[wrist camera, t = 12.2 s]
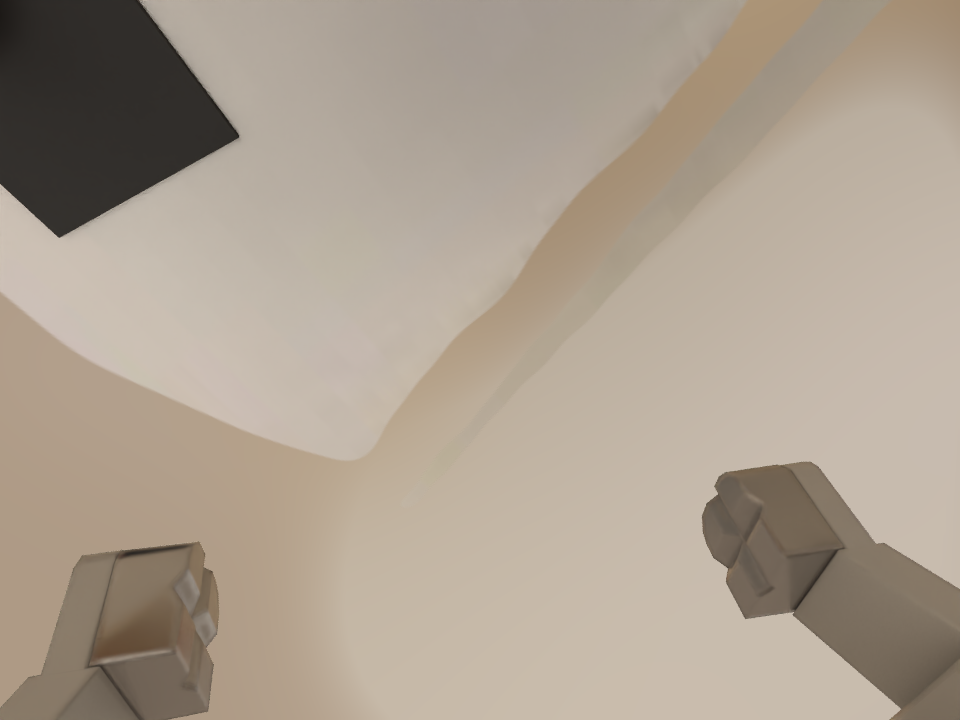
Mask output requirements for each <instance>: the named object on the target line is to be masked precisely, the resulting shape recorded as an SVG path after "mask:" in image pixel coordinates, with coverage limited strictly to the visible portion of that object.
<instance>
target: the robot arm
mask: <svg viewBox="0 0 960 720" xmlns="http://www.w3.org/2000/svg"><path fill="white" fill-rule="evenodd" d="M714 487H715V488H716V490H717V492H718V495H717V496H715V497H714V498H713V499H712V500H710V501H709V502H708V503H707V504H706V507H705V510H704V512H703V515H702V524H703V534H704V537H705V540H706V544H707V546H708V548H709V550H710V552H711V554H712V556H713V558H714V559H716V560H717V561H719V562H720V563H721V564H723V565H724V566H726V567H727V568H728V572H727V578H726V583H727V585H728V587H729V589H730V591H731V593H732V595H733V597H734V598H735V600H736V602H737V604H738V606H739V608H740V610H741V612H742V614H743V615H744V617H745V619H748V618H755V617H762V616H769V615H776V614H783V613H789V612H794V613H793V616H794V617H796V618H797V619H798V620H799V621H800V622H801V623H803V624H804V625H805V626H806V627H807V628H808V629H810V630H811V631H812V632H813V633H814V634H815V635H816V636H818V637H819V638H820V639H821V640H822V641H823V642H825V643H826V644H827V645H828V646H829V647H830V648H831V649H833V650H834V651H835V652H836V653H837V654H839V655H840V656H841V657H842V658H843V659H844V660H845V661H847V662H848V663H849V664H850V665H851V666H852V667H854V668H855V669H856V670H857V671H858V672H859V673H860V674H862V675H863V676H864V677H865V678H866V679H867V680H869V681H870V682H871V683H872V684H873V685H874V686H876V687H877V688H878V689H879V690H880V691H882V693H884V694H885V695H886V696H887V697H888V698H889V699H891V700H892V701H893V702H894V703H895V704H896V705H898V706H899V707H900V708H901V710H900V711H899V712H898V713H897V714H896V715H894V716H893V717H892V718H891V719H890V720H960V589H959V588H957V587H955V586H954V585H952V584H950V583H949V582H947V581H945V580H944V579H942V578H940V577H939V576H937V575H936V574H934V573H932V572H931V571H929V570H927V569H926V568H924V567H923V566H921V565H919V564H918V563H916V562H914V561H913V560H911V559H910V558H908V557H906V556H904V555H903V554H901V553H900V552H898V551H896V550H895V549H893V548H891V547H890V546H888V545H887V544H885V543H881V544H876V543H875V542H874V541H873V539H872V538H871V537H870V535H869V534H868V532H867V531H866V530H865V528H864V527H863V526H862V525H861V523H860V522H859V520H858V519H857V518H856V517H855V515H854V514H853V513H852V511H851V510H850V508H849V507H848V506H847V504H846V503H845V502H844V500H843V499H842V498H841V496H840V495H839V494H838V492H837V491H836V490H835V489H834V487H833V486H832V484H831V483H830V482H829V480H828V479H827V478H826V476H825V475H824V473H823V472H822V471H821V469H819V467H818V466H816V465H815V464H813V463H812V462H799V463H792V464H785V465H772V466H765V467H759V468H751V469H745V470H738V471H731V472H726V473H724V474H722V475H721V476H719V477H718V480H717V482H716V484H715V486H714ZM204 559H205V553H204V551H203V548H202V546H201V544H200V542H192V543H183V544H175V545H166V546H158V547H149V548H142V549H132V550H120V551H113V552H105V553H98V554H90V555H83V556H81V558H80V560H79V561H78V562H77V564H76V566H75V567H74V568H73V572H72V575H71V578H70V582H69V585H68V588H67V591H66V595H65V598H64V601H63V605H62V608H61V611H60V614H59V618H58V621H57V624H56V627H55V631H54V634H53V637H52V640H51V644H50V647H49V650H48V653H47V657H46V660H45V663H44V667H43V670H42V673H41V675H38V676H32V677H28V678H27V680H26V681H25V682H24V683H23V684H22V685H21V686H20V687H19V688H18V689H17V690H16V691H15V692H14V694H13V695H12V696H11V697H10V698H9V699H8V700H7V701H6V702H5V703H4V704H3V706H2V707H1V708H0V720H168V719H172V718H178V717H183V716H188V715H193V714H198V713H202V712H207V711H208V707H209V700H210V691H211V682H212V674H213V665H214V664H213V662H212V660H211V658H210V656H209V653H208V651H207V649H206V647H207V646H208V645H209V643H210V642H211V641H212V640H213V638H214V637H215V636H216V635H217V629H218V618H219V602H218V601H219V600H218V590H217V584H216V580H215V577H214V575H213V572H212V571H210V570H208V569H206V568H204Z"/></svg>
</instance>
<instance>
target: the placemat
mask: <svg viewBox="0 0 960 720" xmlns="http://www.w3.org/2000/svg"><path fill="white" fill-rule="evenodd" d="M237 138H239V135H238V134H237V132H236V131H235V130H234V128H233V127H232V126H231V124H230V123H229V122H228V120H227V119H226V118H225V116H224V115H223V114H222V112H221V111H220V110H219V108H218V107H217V106H216V104H215V103H214V102H213V100H212V99H211V98H210V96H209V95H208V94H207V92H206V91H205V90H204V88H203V87H202V86H201V84H200V83H199V82H198V80H197V79H196V78H195V76H194V75H193V74H192V72H191V71H190V70H189V68H188V67H187V66H186V64H185V63H184V62H183V60H182V59H181V58H180V56H179V55H178V54H177V52H176V51H175V50H174V48H173V47H172V46H171V44H170V43H169V42H168V40H167V39H166V38H165V36H164V35H163V34H162V32H161V31H160V30H159V28H158V27H157V26H156V24H155V23H154V22H153V20H152V19H151V18H150V16H149V15H148V14H147V12H146V11H145V10H144V8H143V7H142V6H141V4H140V3H139V2H138V0H0V184H1V185H2V186H3V187H4V188H5V189H6V190H8V191H9V192H10V193H11V194H12V195H13V196H14V197H15V198H16V199H17V200H18V201H19V202H21V203H22V204H23V205H24V206H25V207H26V208H27V209H28V210H29V211H30V212H31V213H33V214H34V215H35V216H36V217H37V218H38V219H39V220H40V221H41V222H42V223H43V224H45V225H46V226H47V227H48V228H49V229H50V230H51V231H52V232H53V233H54V234H55V235H56V236H58V237H59V238H60V237H62V236H63V235H65V234H67V233H69V232H71V231H72V230H74V229H76V228H78V227H79V226H81V225H83V224H85V223H87V222H88V221H90V220H92V219H94V218H96V217H97V216H99V215H101V214H103V213H105V212H106V211H108V210H110V209H112V208H114V207H115V206H117V205H119V204H121V203H123V202H124V201H126V200H128V199H130V198H132V197H133V196H135V195H137V194H139V193H140V192H142V191H144V190H146V189H148V188H149V187H151V186H153V185H155V184H157V183H158V182H160V181H162V180H164V179H166V178H167V177H169V176H171V175H173V174H175V173H176V172H178V171H180V170H182V169H184V168H185V167H187V166H189V165H191V164H193V163H194V162H196V161H198V160H200V159H201V158H203V157H205V156H207V155H209V154H210V153H212V152H214V151H216V150H218V149H219V148H221V147H223V146H225V145H227V144H228V143H230V142H232V141H234V140H236V139H237Z"/></svg>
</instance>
